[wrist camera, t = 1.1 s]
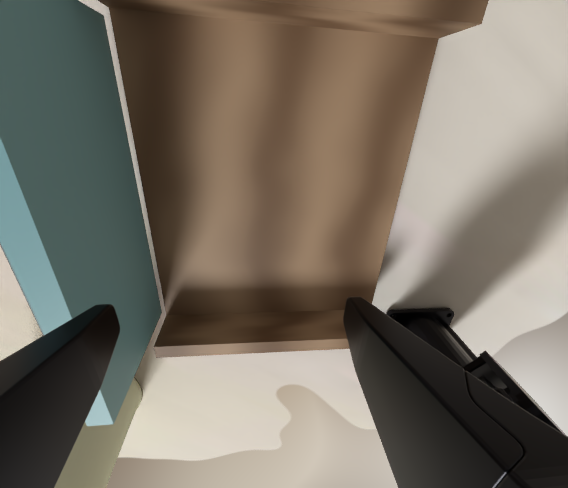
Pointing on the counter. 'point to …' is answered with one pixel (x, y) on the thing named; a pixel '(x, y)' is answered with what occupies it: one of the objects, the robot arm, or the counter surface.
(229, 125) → the flatbed
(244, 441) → the counter surface
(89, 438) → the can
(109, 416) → the teal flat rectangular block
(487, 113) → the counter surface
